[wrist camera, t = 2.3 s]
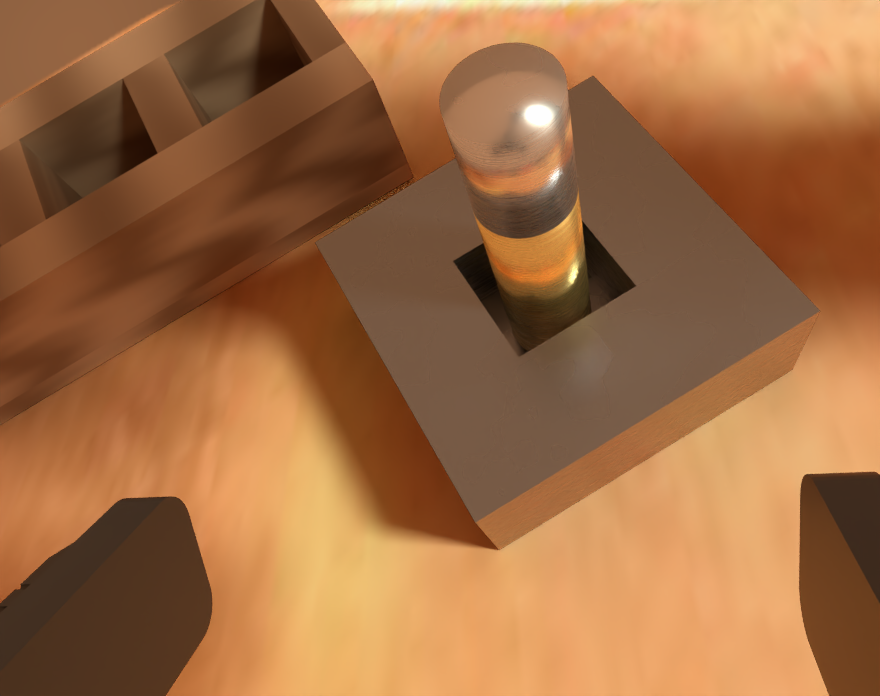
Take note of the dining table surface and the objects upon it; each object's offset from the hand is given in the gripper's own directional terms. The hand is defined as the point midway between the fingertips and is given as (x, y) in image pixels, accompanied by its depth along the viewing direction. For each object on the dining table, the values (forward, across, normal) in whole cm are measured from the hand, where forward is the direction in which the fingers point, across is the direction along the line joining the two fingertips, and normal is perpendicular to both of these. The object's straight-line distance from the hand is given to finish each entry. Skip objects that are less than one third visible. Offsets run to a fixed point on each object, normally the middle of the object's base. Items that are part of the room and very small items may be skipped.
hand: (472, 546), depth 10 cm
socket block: (+20, 0, +4) cm, 20 cm away
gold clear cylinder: (+19, 0, +3) cm, 19 cm away
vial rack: (+25, +18, -1) cm, 30 cm away
